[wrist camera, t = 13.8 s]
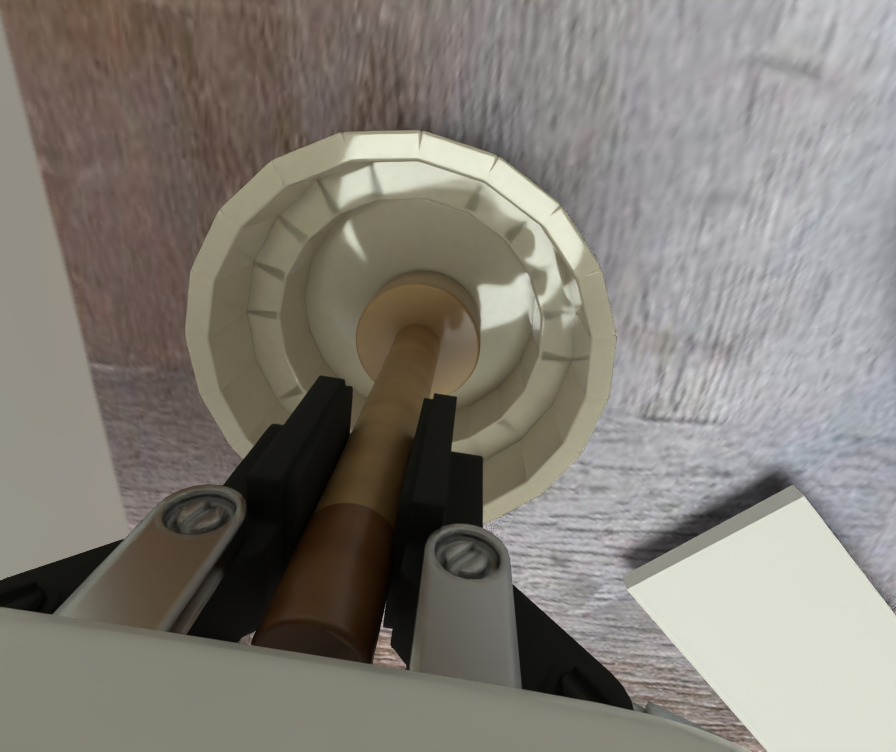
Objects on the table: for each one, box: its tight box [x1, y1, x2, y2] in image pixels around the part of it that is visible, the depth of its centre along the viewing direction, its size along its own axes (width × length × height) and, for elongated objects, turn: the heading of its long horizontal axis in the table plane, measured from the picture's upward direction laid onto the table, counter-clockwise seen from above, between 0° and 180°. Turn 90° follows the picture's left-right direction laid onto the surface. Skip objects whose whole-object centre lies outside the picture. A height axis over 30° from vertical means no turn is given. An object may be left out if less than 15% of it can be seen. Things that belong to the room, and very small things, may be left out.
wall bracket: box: [624, 485, 896, 752], centre depth 26 cm, size 10×7×28 cm
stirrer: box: [251, 271, 481, 664], centre depth 13 cm, size 4×4×14 cm
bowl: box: [185, 130, 617, 524], centre depth 17 cm, size 12×12×6 cm
